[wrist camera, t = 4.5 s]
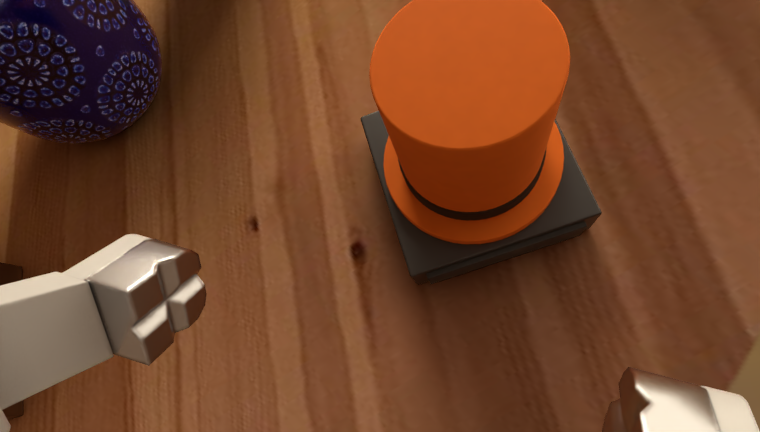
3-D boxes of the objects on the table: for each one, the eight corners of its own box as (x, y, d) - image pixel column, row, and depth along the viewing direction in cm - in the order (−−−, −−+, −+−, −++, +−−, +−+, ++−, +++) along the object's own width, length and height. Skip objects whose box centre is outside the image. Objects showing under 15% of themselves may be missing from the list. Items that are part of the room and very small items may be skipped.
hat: (593, 209, 20) (658, 121, 13) (414, 268, 21) (379, 219, 14) (521, 61, 23) (540, -79, 16) (366, 119, 24) (315, 11, 17)
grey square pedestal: (592, 233, 23) (605, 218, 20) (418, 290, 23) (411, 282, 21) (520, 82, 26) (524, 55, 23) (370, 138, 27) (359, 116, 24)
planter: (214, 52, 31) (80, -104, 21) (120, 189, 29) (-80, 93, 19) (108, 7, 35) (-52, -146, 24) (18, 126, 33) (-198, 17, 22)
